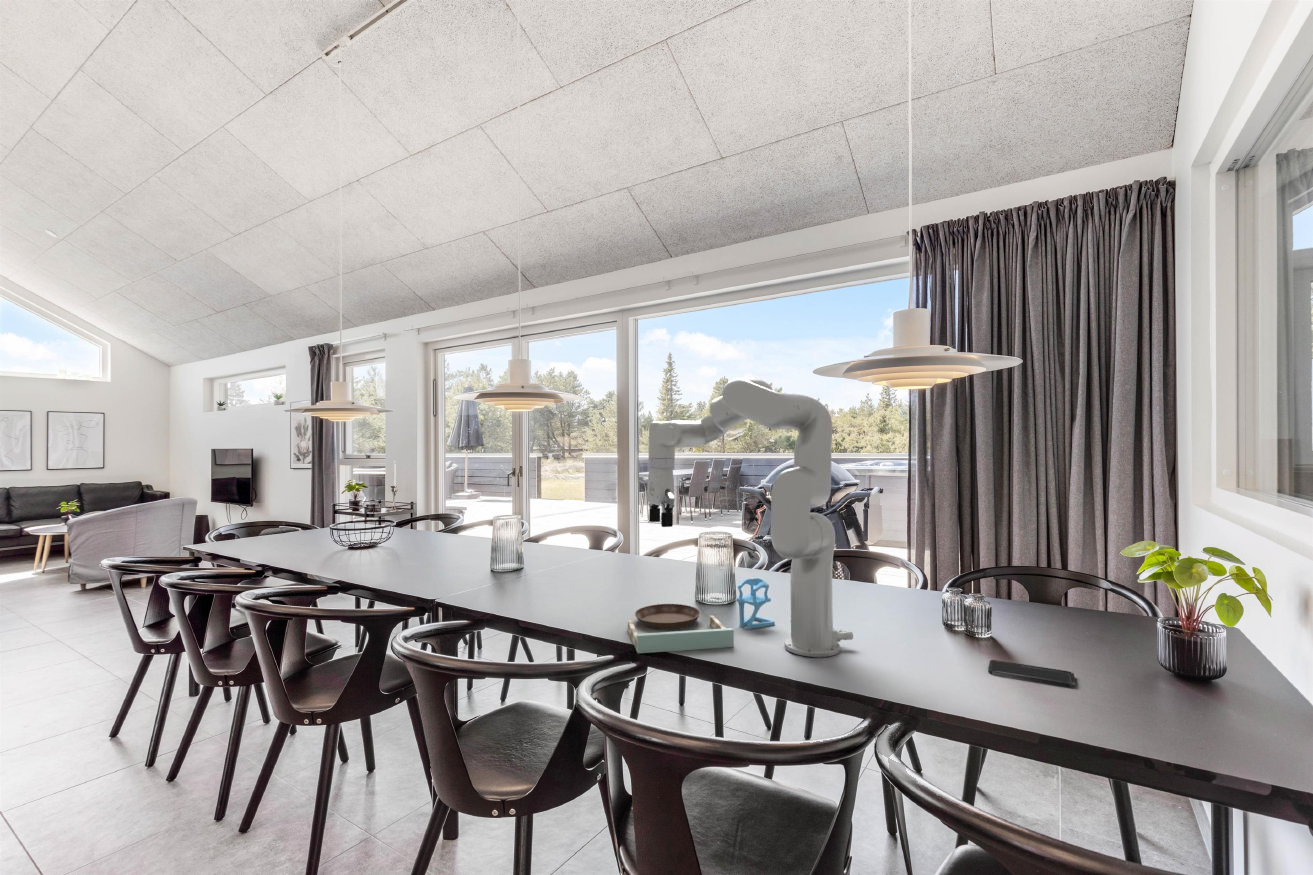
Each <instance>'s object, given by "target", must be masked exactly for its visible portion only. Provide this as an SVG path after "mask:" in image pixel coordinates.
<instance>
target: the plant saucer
mask: <svg viewBox="0 0 1313 875" xmlns="http://www.w3.org/2000/svg"><path fill="white" fill-rule="evenodd" d="M700 615H701V611H700V610H699V608H697V607H694V606H691V605H687V604H680V603H658V604H651V605H647V606H643V607H640V608H639V609H637V610H636V611H635V612H634V616H635V617H636V619H637V621H638V622H639V623H640V624H641V625H642V626H643V627H645V628H648V629H651V630H657V631H677V630H682V629H683V630H684V629H687V628H689V627H691V626H692V625H694V624H695V623H696V622H697V620H698V619H699V616H700Z"/></svg>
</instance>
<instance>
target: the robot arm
mask: <svg viewBox="0 0 1313 875" xmlns="http://www.w3.org/2000/svg"><path fill="white" fill-rule="evenodd" d="M709 413H710V414H708V415H706V416H704V417H702V418H700V419H698V420H682V419H681V420H670V421H666V420H665V421H658V420H655V421H651V422H650V423H649V426H648V460H647V461H648V465H647V466H648V475H647V476H648V477H647V488H646V501H647V502H648V503H649V504H648V507H649V510H648V511H649V512H648V514H649V515H648V516H649V518H648V521H649V522H650V523H659V522H660V521H661V523H660V524H661V527H662V528H670V527H673V526H674V525H673V522H674V507H675V487H674V485H675V484H674V483H675V482H674V480H675V479H674V470H675V468H676V466H675V462H676V461H675V456H676V455H675V454H676V453H675V452H676V448H677V449H678V448H680V449H681V448H701V447H703V446H706V445H708V444H710V443H712V442H714V441H716V440H718V439H720V438H722V437H723V436H724V435H725V434H726V433H727V432H728V431H729V429H730V428H732V427H733V428H734V427H735V426H737V425H738V424H741V423H742V422H745V421H747V420H750V421H751V422H754V423H756V424H759V425H761V426H764V427H765V428H768V429H773V430H795V431H797V432H798V435H797V438H796V440H795V444H794V449H793V467H792V468H787V469H785V470H783V471H781V472H780V473H779V474H778V475H777V476H776V478H775V480H774V482H773V485H772V489H771V500H770V502H771V503H770V504H771V505H770V539H771V544H772V546H773V548H774V550H775V551H776V553H777V554H778V555H779V556H781V557H782V558H783V559H788V560H791V563H790V564H791V565H790V581H789V582H790V637H788V638H787V639H785V640H784V649H786V650H787V651H788V652H789V653H792V654H795V655H798V656H802V657H803V656H804V657H810V658H825V657H826V658H827V657H832V656H835V655H837V654H839V653H840V651H841V645H840V642H841V641H847V640H848V641H851V640H853V639H854V634H853V632H852V631H851V630H848V631H847V630H846V631H843V629H835V628H833V627H834V622H833V621H834V619H833V617H834V615H833V614H834V612H833V611H834V610H833V609H834V608H833V563H834V562H833V561H834V554H835V553H834V552H835V547H836V546H835V545H836V531H835V527H834V524H833V523H832V522H831V520H830V519H829V518H828V517H827V516H825V515H824V514H822V513H817V512H811V509H813V508H817V507H820V506H823V505H824V504H826V503H827V502H828V501H829V499H830V496H831V492H832V491H831V490H832V446H833V445H832V443H833V421H832V417H831V414H830V411H829V410H828V409H827V408H826V406H825V405H824V404H823V403H822V402H820V401H819V400H817V399H815V398H813V397H811V396H808V395H805V394H804V395H803V394H797V393H786V392H779V391H775V390H774V389H773V388H772V387H771V386H770V384H769V383H768V382H766V381H764V380H762V379H757V378H751V377H741V376H740V377H736V378H733V379H731V380H729V381H728V382H727V383H726V384H725V385H724V387H723V389H722V395H721V396H719V397H718V396H717V398H715V399H713V400H712V401H711V402H710V405H709ZM660 506H661V507H660ZM661 510H662V512H661Z"/></svg>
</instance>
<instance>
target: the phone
mask: <svg viewBox="0 0 1313 875" xmlns="http://www.w3.org/2000/svg"><path fill="white" fill-rule="evenodd" d="M987 671H988V674H989V675H993V676H997V677H1002V678H1010V679H1014V680H1021V681H1027V682H1031V683H1039V684H1044V685H1050V686H1056V687H1062V688H1070V689H1074V688H1076V679H1075V673H1074V672H1072V671H1068V670H1063V669H1055V668H1051V667H1049V668H1048V667H1044V666H1037V665H1032V664H1030V665H1029V664H1024V663H1017V662H1012V661H1011V662H1010V661H1003V660H999V659H998V660H997V659H991V660H989V663H988V668H987Z"/></svg>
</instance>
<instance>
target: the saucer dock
mask: <svg viewBox="0 0 1313 875" xmlns="http://www.w3.org/2000/svg"><path fill="white" fill-rule="evenodd" d="M709 626H710V627H711V628H712V629H698V630H697V629H695V630H694V629H693V630H680V631H677V630H675V631H664V632H662V631H661V632H648V633H638V632H637V630H636V629H637V628H636V627H635V624H634V623H633V621H632V620H627V632H628V635H629V636H630V639H631V642H632V644H633V646H634V648H635V651H636V653H637V654H647V653H648V654H649V653H661V652H662V653H663V652H677V651H693V650H705V649H706V650H707V649H722V648H723V649H724V648H734V647H735V645H734V637H735V636H734V634H735V633H734V628H732V627H728V628H726V627H725V626H724V625H723V624H722V623H721V622H720V621H719V619H717V618H716V616H714V615H709Z"/></svg>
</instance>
